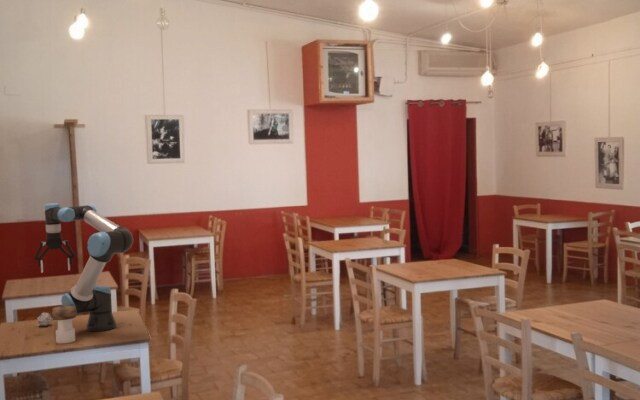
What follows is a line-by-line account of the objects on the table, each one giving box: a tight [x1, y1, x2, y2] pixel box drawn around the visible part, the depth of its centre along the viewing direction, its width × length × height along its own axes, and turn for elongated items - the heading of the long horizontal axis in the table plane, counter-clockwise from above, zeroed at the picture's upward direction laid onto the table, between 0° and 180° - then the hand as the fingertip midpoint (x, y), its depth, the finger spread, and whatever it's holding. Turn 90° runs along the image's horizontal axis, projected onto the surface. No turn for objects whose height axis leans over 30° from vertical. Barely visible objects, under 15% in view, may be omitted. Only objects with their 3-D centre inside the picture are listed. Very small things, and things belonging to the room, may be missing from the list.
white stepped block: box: [55, 318, 76, 344], centre depth 339 cm, size 9×9×12 cm
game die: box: [35, 311, 53, 328], centre depth 375 cm, size 9×8×10 cm
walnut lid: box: [51, 305, 77, 321], centre depth 339 cm, size 11×11×5 cm
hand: (55, 271), depth 364 cm, fingers open, 13 cm apart
